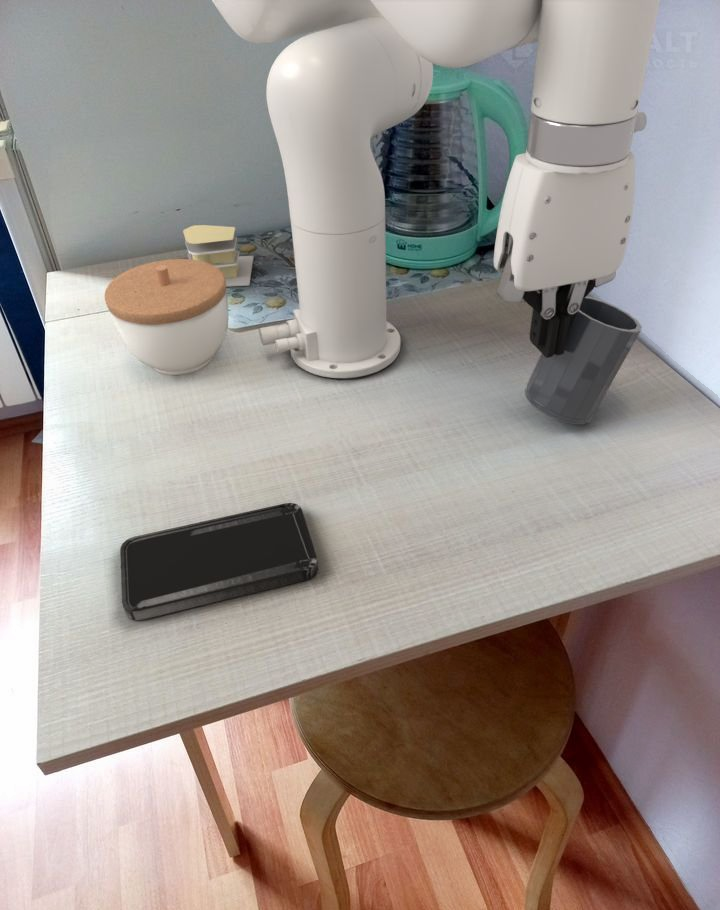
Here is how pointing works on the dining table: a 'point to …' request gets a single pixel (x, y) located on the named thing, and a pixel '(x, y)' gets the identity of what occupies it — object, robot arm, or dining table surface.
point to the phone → (215, 560)
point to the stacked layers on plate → (219, 252)
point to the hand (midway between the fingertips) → (546, 348)
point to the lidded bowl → (170, 313)
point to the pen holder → (583, 363)
